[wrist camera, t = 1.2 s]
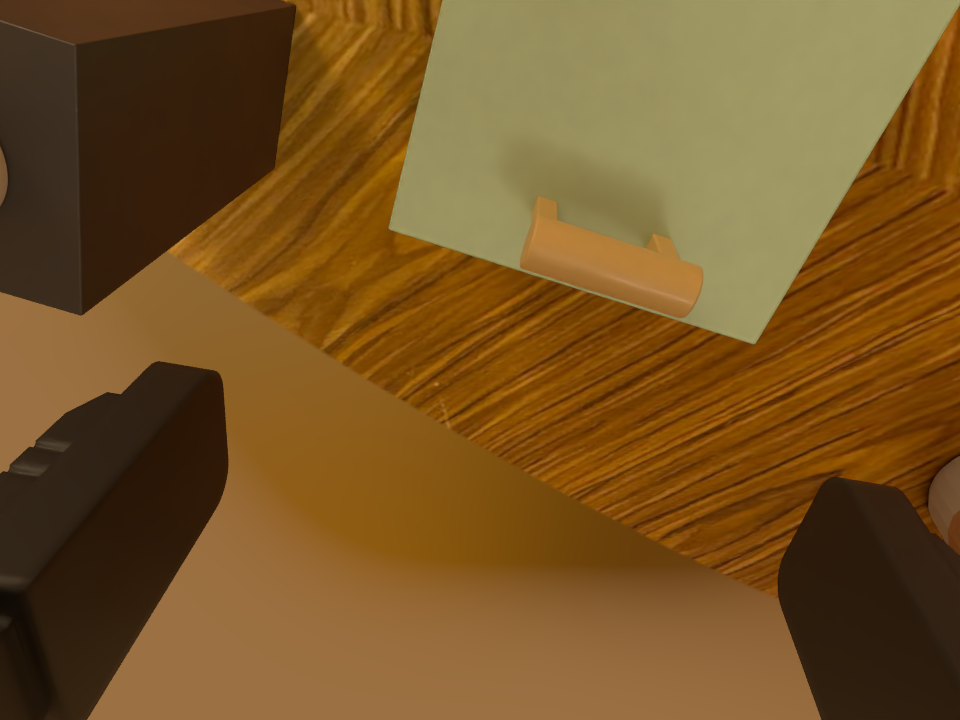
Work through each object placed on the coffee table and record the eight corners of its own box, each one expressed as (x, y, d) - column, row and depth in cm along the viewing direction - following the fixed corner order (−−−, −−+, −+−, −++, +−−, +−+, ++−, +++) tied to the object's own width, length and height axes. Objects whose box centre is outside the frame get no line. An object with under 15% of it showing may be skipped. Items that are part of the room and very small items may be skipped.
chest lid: (749, 335, 25) (792, 414, 20) (392, 222, 24) (357, 280, 19) (1024, -129, 17) (1183, -159, 13) (522, -323, 16) (514, -425, 12)
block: (123, 121, 30) (-185, 238, 18) (126, -52, 27) (-260, -64, 14) (274, 169, 31) (81, 316, 18) (296, 5, 27) (76, 44, 15)
